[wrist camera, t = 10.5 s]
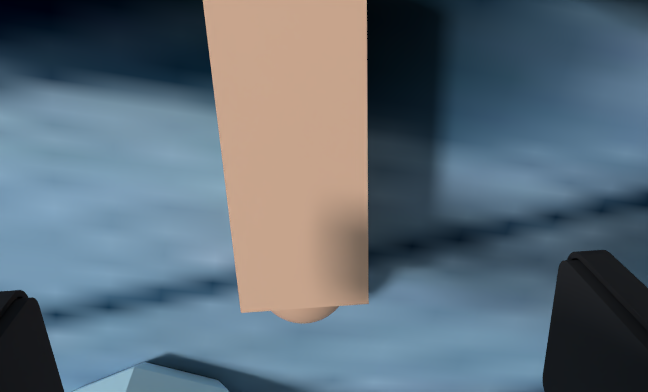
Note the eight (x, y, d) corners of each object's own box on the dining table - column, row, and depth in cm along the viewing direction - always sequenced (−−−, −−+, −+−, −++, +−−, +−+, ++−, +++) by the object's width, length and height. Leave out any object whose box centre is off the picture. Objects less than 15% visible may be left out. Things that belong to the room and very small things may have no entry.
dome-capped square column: (210, -82, 17) (192, -87, 14) (349, -88, 17) (366, -94, 14) (251, 290, 23) (246, 353, 19) (355, 283, 23) (368, 344, 19)
